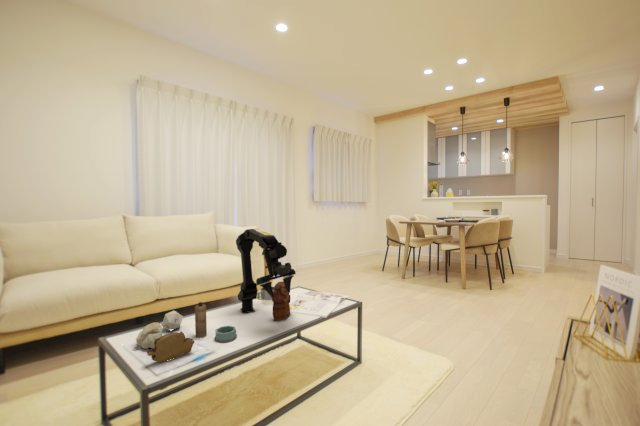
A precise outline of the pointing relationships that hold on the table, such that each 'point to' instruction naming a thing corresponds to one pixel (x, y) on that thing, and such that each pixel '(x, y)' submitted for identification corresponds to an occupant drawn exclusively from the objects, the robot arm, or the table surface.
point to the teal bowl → (225, 334)
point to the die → (172, 320)
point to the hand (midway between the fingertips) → (281, 295)
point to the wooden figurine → (281, 302)
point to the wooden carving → (170, 346)
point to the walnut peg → (200, 320)
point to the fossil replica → (149, 335)
